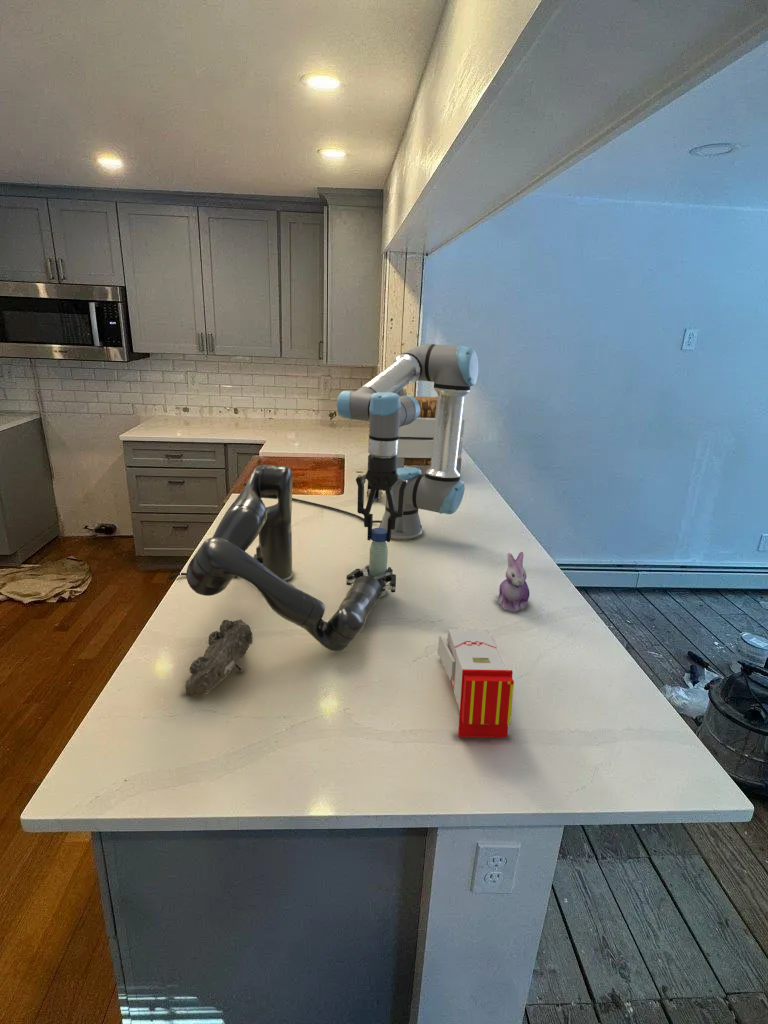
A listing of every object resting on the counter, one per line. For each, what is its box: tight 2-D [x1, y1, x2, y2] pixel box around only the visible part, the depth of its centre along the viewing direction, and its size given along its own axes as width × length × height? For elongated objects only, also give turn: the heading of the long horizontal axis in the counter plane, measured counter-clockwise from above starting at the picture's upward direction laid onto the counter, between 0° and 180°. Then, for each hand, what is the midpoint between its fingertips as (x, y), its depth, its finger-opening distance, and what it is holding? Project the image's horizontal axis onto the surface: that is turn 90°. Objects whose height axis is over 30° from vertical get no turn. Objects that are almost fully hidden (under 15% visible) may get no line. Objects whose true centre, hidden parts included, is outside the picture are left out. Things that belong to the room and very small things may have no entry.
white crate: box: [396, 387, 465, 475], centre depth 268 cm, size 34×33×41 cm
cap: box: [370, 527, 387, 542], centre depth 152 cm, size 5×5×2 cm
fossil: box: [184, 619, 253, 697], centre depth 121 cm, size 22×10×15 cm
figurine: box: [497, 551, 530, 612], centre depth 152 cm, size 9×10×15 cm
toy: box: [437, 628, 515, 738], centre depth 117 cm, size 12×13×30 cm
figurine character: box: [366, 481, 384, 502], centre depth 235 cm, size 7×8×15 cm
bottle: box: [368, 541, 389, 598], centre depth 155 cm, size 5×5×18 cm
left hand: (380, 568), depth 158 cm, fingers closed on bottle, 5 cm apart
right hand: (379, 538), depth 152 cm, fingers closed on cap, 5 cm apart
